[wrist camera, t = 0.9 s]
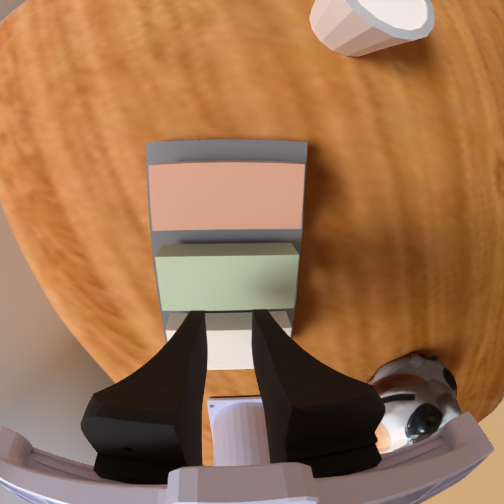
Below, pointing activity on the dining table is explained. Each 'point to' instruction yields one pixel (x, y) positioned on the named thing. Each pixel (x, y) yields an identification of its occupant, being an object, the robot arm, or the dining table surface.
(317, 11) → the shot glass
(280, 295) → the sage button
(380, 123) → the dining table surface
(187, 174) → the terracotta button
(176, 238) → the button panel
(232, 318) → the off-white button
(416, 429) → the lucky cat figurine
